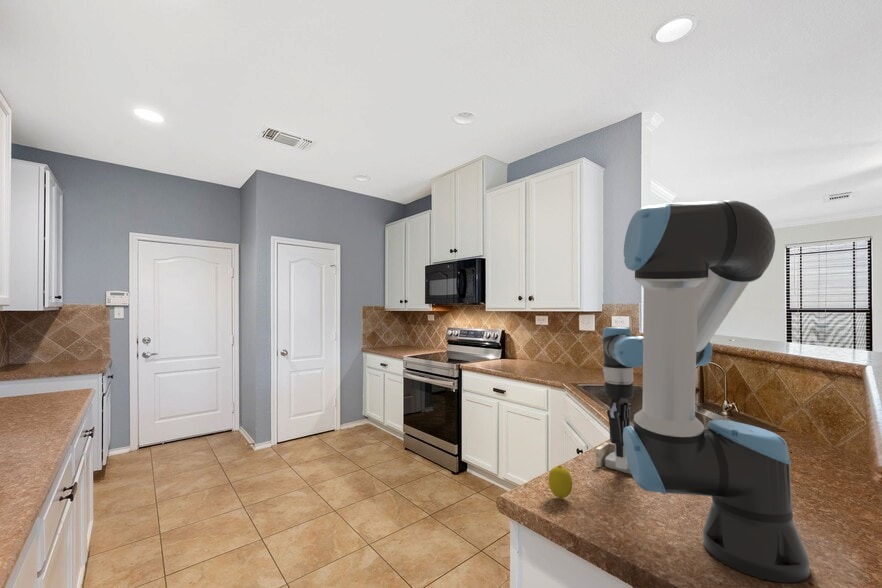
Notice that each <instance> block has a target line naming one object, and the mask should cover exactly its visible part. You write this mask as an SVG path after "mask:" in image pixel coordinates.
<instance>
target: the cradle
mask: <svg viewBox="0 0 882 588" xmlns="http://www.w3.org/2000/svg"><path fill="white" fill-rule="evenodd" d="M613 451H615V444H613V443H611V442H610V441H605V442H603V443H602V444H600V445H599V446H597V447H596V448H595V461H596V464H595V465H596V467H598V468H602V467H603V466H605V458H606V457H607V456H608V455H609V454H610V453H612V452H613Z"/></svg>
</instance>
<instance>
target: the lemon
mask: <svg viewBox="0 0 882 588" xmlns="http://www.w3.org/2000/svg"><path fill="white" fill-rule="evenodd" d="M548 486H549V489H550V491H551V493H552V495H554V496H555V497H557V498H558V499H559V500H563V499H565V498H567V497H569V495H571V493H572V490H573V477H572V475H571V473H570V471H569V469H568V468H565V466H562V465H560V464H558V465H557V466H554V467H553V468H552V469H551V470H550V471H549V475H548Z"/></svg>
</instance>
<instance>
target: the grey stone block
mask: <svg viewBox="0 0 882 588" xmlns="http://www.w3.org/2000/svg"><path fill="white" fill-rule="evenodd" d="M627 462H628V461H627ZM604 467H606V468H609V469H611V470H615V471H619V472H623V473H624V474H629V475H632V474H631V471H630V468H629V465H628V468H627V469H626V470H625V469H621V468H617V467H616V459H615V451H613V452H612V453H610V454H609V455H608V456H607V457H606V458H605V464H604Z"/></svg>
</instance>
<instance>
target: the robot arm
mask: <svg viewBox="0 0 882 588" xmlns="http://www.w3.org/2000/svg"><path fill="white" fill-rule="evenodd" d="M775 248H776V237H775V232H774V228H773V225H772V224H771V222H770V220H769V219H768V218H767V216H766V215H765V214H764V213H763V212H761V211H760V210H759V209H758V208H757V207H755V206H752V205H751V204H749V203H746V202H743V201H740V200H732V199H730V200H727V199H726V200H725V199H724V200H717V201H698V202H697V201H695V202H693V201H692V202H669V203H661V204H653V205H647V206H646V205H645V206H643V207H641V208H639V209H638V210H636V211H635V212H634V214H633V215H632V217H631V219H630V220H629V224H627V229H626V233H625V237H624V243H623V257H624V259H623V261H624V265H625V268H627V269H628V270H629V271H634V280H635V281H636V282H637V283H638V284H639V285H640V286H642V288H643V305H642V306H643V307H642V308H643V319H642V320H643V321H642V322H643V323H642V325H643V328H642V330H643V331H642V334H643V335H637V336H636V335H632V330H631V329H632V328H630V327H623V326H617V327H615V326H613V327H611V326H609V327H608V326H607V327H604V328H603V329H602V338H601V341H602V351H603V354H602V355H603V368H602V372H603V377H604V378H603V379H604V380H605V382H604V383H603V384H604V385H603V386H604V388H603V389H604V395H605V396H606V397H608V398H610V404H609V408H610V410H609V409H607V411H606V413H607V414H606V415H607V418H608V424H609V428H610V430H609V433H610V432H611V440H612V442H611V443H613V444H615V459H616V467H617V468H621V469H625V470H626V469H627V468H628V465H629V468H630V471H631V474H630V475H631V476H632V478H633V481H634V482H635V483H636V485H637V486H638V487H639V488H640V489H642V490H643V491H645V492H653V493H660V494H663V495H667V494H676V495H687V496H688V495H689V496H691V495H692V496H704V497H705V496H707V497H711V500H712V501H711V505H710V508H709V510H708V513H707V516H706V520H705V523H704V526H703V528H702V537H703V539H702V541H703V545H704V547H705V549H706V550H707V552H708V553H710V554H711V555H712V556H713V557H714V558H716V559H717V560H718V561H720V562H722V563H724V565H726V566H728V567H730V568H732V569H735V570H736V571H738V572H741V573H743V574H746V575H749V576H752V577H754V578H760V579H763V580H765V581H766V580H767V581H771V582H772V581H773V582H779V583H799V581H800V582H803V581H805V580H806V579H808V578H809V577H810V576H811V575H810V574H811V569H810V568H811V566H810V558H809V555H808V552H807V550H806V547H805V546H804V543H803V541H802V539H801V536H800V534H799V531H798V530H797V527H796V525H795V523H794V516H793V499H792V498H793V497H792V483H791V481H792V480H791V479H792V478H791V465H792V462H791V459H790V458H791V457H790V453H789V447H788V443H787V441H785V439H784V438H783V437H781V435H779V434H777V433H775V432H773V431H771V430H767V429H765V428H761V427H758V426H754V425H750V424H747V423H742V422H737V421H732V420H725V419H711V420H708V422H707V424H706V428H707V429H706V428H705V425H704V424H703V422H702V421H700V420H699V418H698V417H696V386H697V385H696V383H697V382H696V381H697V380H696V379H697V377H696V376H697V367H700V366H701V367H704V366H708V365H709V364H710V362H711V361H712V356H713V347H712V344H711V339H713V336H714V335H715V333H716V332H717V330H718V329H719V328H720V326H721V325H722V323H723V322H724V320H725V318H726V317H727V316H728V314H729V313H730V312H731V310H732V308H733V307H734V305H736V303H737V301H738V299H739V298H740V297H741V295H742V293H744V291H745V290H746V288H747V286H748V285H749V283H752V282H755V281H758V280H759V279H760V278H761V277H762V276H763V275H764V273H765V271H766V270H767V269H768V267H769V265H770V264H771V262H772V260H773V258H774V253H775ZM640 367H642V408H641V409H640V410H638V411H637V412H635V413H634V415H633V426H632V425H631V410H632V404H631V403H629V399H632V398H634V396H635V390H634V388H635V387H634V384H633V382H634V369H635V368H640ZM627 461H628V462H627Z"/></svg>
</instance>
